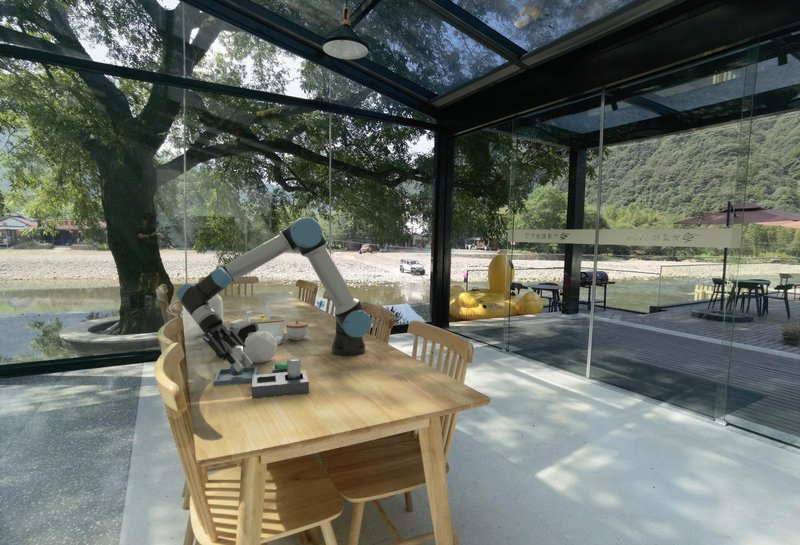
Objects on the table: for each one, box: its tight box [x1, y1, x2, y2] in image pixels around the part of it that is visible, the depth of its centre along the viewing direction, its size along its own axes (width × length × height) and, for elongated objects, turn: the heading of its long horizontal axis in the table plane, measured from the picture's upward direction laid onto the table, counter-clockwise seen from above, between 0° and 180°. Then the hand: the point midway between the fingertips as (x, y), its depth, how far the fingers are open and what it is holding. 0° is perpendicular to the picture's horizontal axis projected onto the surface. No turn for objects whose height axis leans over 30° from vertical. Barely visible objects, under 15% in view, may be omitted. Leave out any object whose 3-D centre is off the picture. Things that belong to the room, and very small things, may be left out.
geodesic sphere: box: [244, 329, 278, 364], centre depth 173 cm, size 14×14×14 cm
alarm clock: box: [223, 318, 260, 352], centre depth 191 cm, size 21×10×13 cm, turn 170°
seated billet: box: [286, 358, 301, 381], centre depth 144 cm, size 4×4×10 cm
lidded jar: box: [285, 319, 309, 341], centre depth 213 cm, size 11×11×9 cm
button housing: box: [271, 363, 287, 373], centre depth 156 cm, size 7×7×4 cm
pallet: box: [251, 370, 310, 400], centre depth 143 cm, size 18×12×4 cm, turn 107°
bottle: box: [208, 293, 224, 324], centre depth 206 cm, size 8×8×30 cm
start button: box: [275, 361, 287, 369], centre depth 156 cm, size 4×4×3 cm
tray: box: [213, 365, 258, 387], centre depth 153 cm, size 14×14×2 cm
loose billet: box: [229, 345, 245, 376], centre depth 153 cm, size 4×4×10 cm
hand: (245, 367), depth 152 cm, fingers closed on loose billet, 4 cm apart
